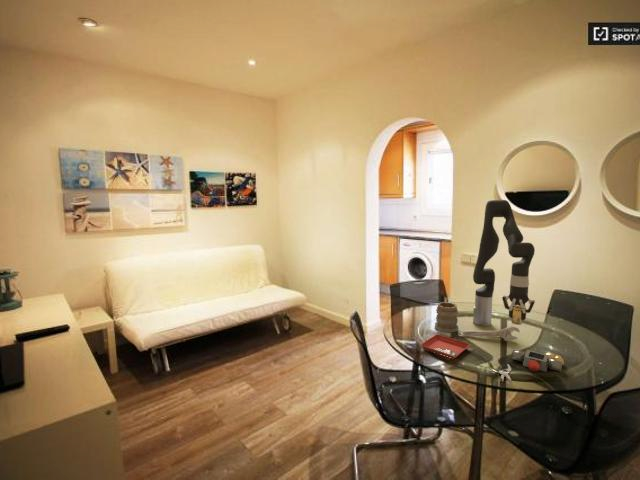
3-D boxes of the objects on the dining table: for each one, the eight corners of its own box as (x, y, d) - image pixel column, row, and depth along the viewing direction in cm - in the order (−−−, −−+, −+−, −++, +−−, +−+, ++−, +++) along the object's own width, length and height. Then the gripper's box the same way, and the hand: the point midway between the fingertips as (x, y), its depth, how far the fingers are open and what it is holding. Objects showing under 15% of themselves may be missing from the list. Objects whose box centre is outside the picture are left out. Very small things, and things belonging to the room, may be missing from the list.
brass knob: (510, 323, 168) (510, 307, 167) (512, 320, 172) (513, 304, 171) (521, 325, 165) (522, 309, 164) (523, 322, 169) (524, 306, 168)
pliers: (509, 362, 160) (519, 380, 145) (508, 365, 160) (519, 383, 145) (485, 360, 162) (493, 377, 147) (485, 363, 162) (493, 381, 148)
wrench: (458, 339, 194) (520, 340, 183) (458, 341, 192) (520, 342, 182) (457, 325, 193) (519, 325, 183) (457, 327, 191) (519, 327, 181)
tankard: (458, 333, 195) (459, 307, 193) (434, 331, 199) (435, 305, 197) (457, 320, 214) (458, 296, 211) (435, 318, 218) (435, 295, 215)
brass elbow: (543, 358, 165) (546, 364, 160) (543, 351, 164) (547, 357, 159) (560, 360, 163) (564, 366, 157) (560, 353, 162) (564, 359, 157)
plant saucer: (470, 349, 176) (470, 343, 176) (455, 362, 163) (455, 356, 163) (436, 339, 189) (436, 333, 188) (419, 350, 176) (420, 344, 176)
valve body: (508, 366, 159) (509, 355, 158) (514, 355, 169) (514, 345, 168) (559, 379, 147) (560, 368, 146) (561, 366, 157) (562, 356, 156)
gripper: (500, 283, 167) (499, 318, 170) (535, 288, 158) (533, 324, 161) (504, 280, 173) (502, 313, 175) (538, 284, 164) (535, 319, 167)
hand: (517, 318), depth 168 cm, fingers closed on brass knob, 4 cm apart
